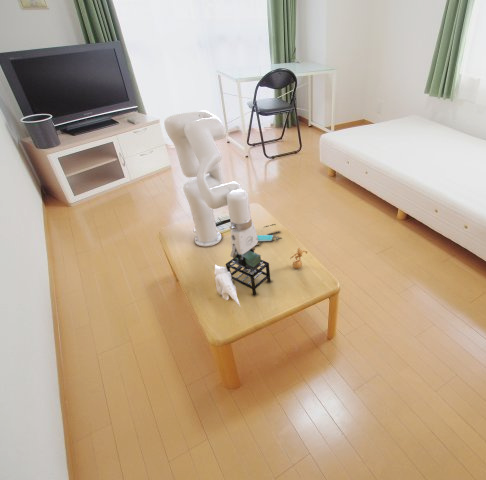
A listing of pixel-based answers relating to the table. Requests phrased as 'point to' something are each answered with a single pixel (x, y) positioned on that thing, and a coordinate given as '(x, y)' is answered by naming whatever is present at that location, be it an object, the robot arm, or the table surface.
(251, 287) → the rack
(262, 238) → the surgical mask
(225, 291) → the dinosaur statue
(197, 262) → the table surface
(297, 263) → the figurine
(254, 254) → the teal sanding sponge
